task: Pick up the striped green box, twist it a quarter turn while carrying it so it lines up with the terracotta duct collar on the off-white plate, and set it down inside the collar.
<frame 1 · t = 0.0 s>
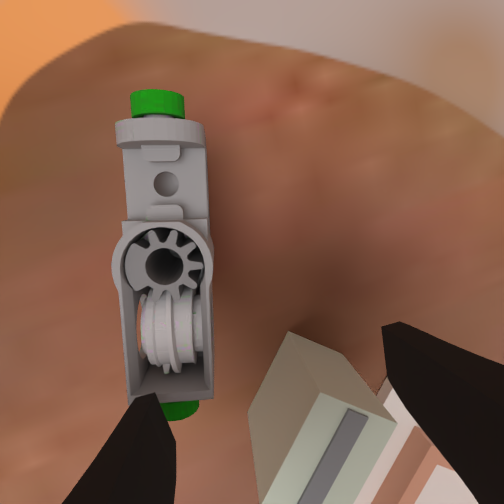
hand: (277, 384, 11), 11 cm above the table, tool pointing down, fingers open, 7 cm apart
duct plate: (437, 484, 24), on the table
striped green box: (294, 382, 22), on the table
mechanical component: (190, 233, 20), on the table
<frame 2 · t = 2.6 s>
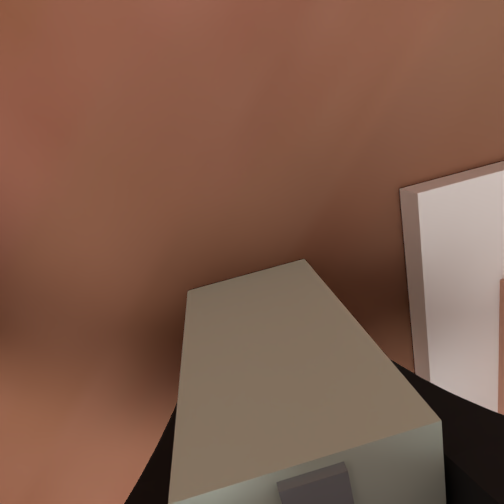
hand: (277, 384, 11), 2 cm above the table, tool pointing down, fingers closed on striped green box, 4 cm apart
striped green box: (266, 348, 12), on the table, touching gripper
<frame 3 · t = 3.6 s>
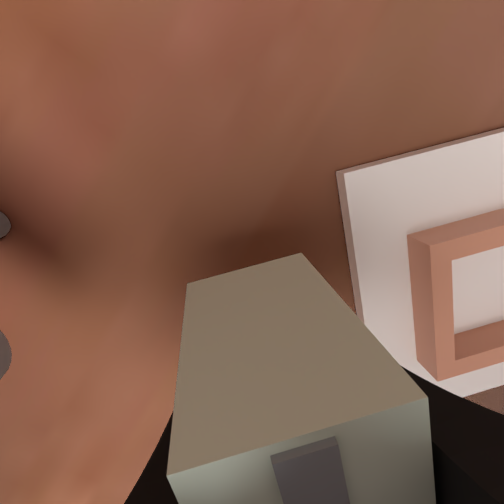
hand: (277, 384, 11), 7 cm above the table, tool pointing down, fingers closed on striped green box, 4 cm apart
duct plate: (482, 270, 19), on the table
striped green box: (264, 341, 13), point 5 cm above the table, touching gripper
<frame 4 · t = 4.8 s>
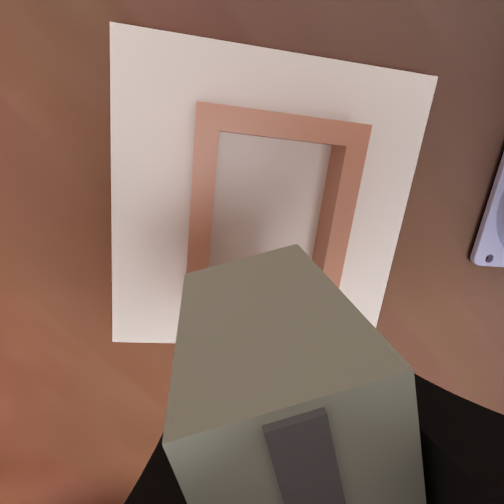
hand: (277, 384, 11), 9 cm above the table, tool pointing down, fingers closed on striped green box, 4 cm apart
duct plate: (263, 212, 18), on the table
striped green box: (260, 331, 13), point 7 cm above the table, touching gripper
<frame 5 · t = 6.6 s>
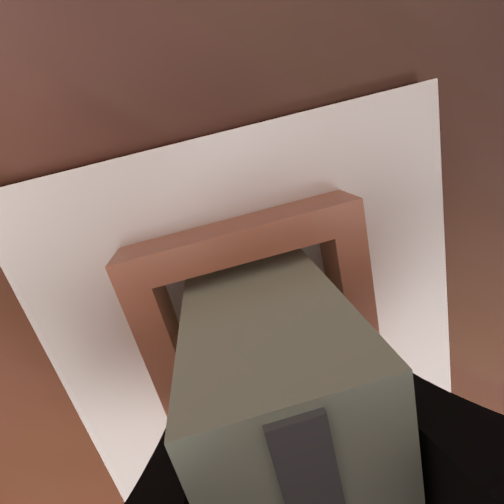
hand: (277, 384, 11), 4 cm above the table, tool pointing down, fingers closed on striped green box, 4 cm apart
duct plate: (258, 323, 14), on the table
striped green box: (261, 332, 13), point 1 cm above the table, touching gripper
when the fingers open (4 cm above the table, at t = 7.4 s): striped green box stays where it is, resting on duct plate.
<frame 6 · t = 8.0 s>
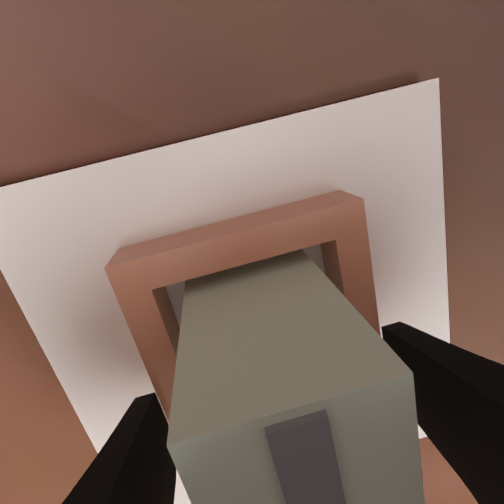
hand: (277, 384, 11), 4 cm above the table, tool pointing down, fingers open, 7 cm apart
duct plate: (258, 324, 14), on the table
striped green box: (261, 331, 13), point 1 cm above the table, touching duct plate
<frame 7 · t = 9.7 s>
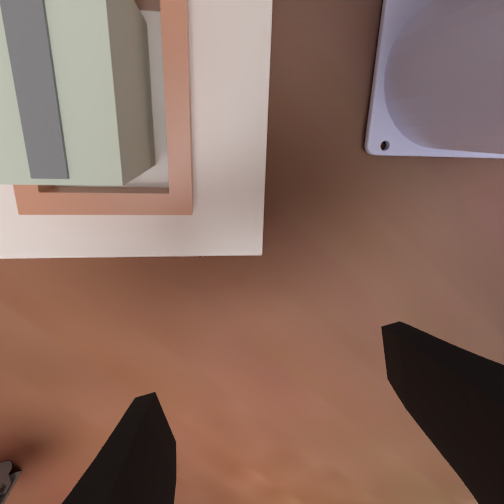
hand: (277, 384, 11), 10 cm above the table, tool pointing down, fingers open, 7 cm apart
duct plate: (113, 105, 17), on the table
striped green box: (106, 96, 16), point 1 cm above the table, touching duct plate
mechanical component: (10, 466, 23), on the table
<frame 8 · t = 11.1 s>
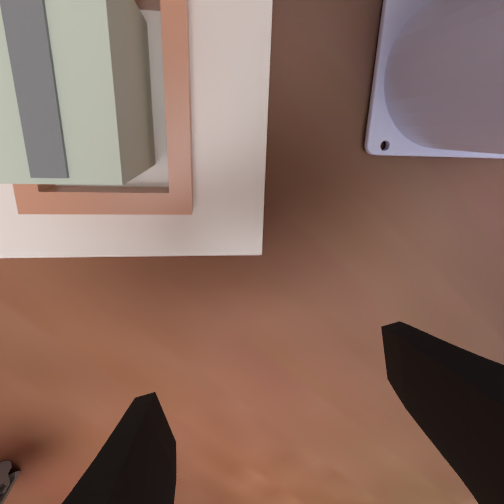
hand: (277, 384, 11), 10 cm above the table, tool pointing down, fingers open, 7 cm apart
duct plate: (112, 105, 17), on the table
striped green box: (106, 96, 16), point 1 cm above the table, touching duct plate
mechanical component: (10, 466, 23), on the table
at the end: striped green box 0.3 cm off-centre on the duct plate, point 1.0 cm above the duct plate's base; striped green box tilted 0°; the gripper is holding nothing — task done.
